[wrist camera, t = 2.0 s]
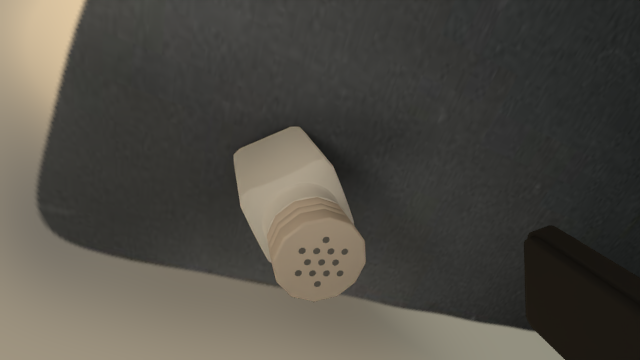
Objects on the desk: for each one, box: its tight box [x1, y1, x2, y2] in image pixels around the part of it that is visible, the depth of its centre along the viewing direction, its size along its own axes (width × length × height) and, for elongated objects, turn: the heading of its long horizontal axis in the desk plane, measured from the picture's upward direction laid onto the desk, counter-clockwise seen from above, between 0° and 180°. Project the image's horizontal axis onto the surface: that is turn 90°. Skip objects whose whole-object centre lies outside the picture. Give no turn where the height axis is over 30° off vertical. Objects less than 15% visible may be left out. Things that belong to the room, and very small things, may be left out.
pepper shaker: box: [233, 127, 366, 302], centre depth 17 cm, size 4×4×10 cm
